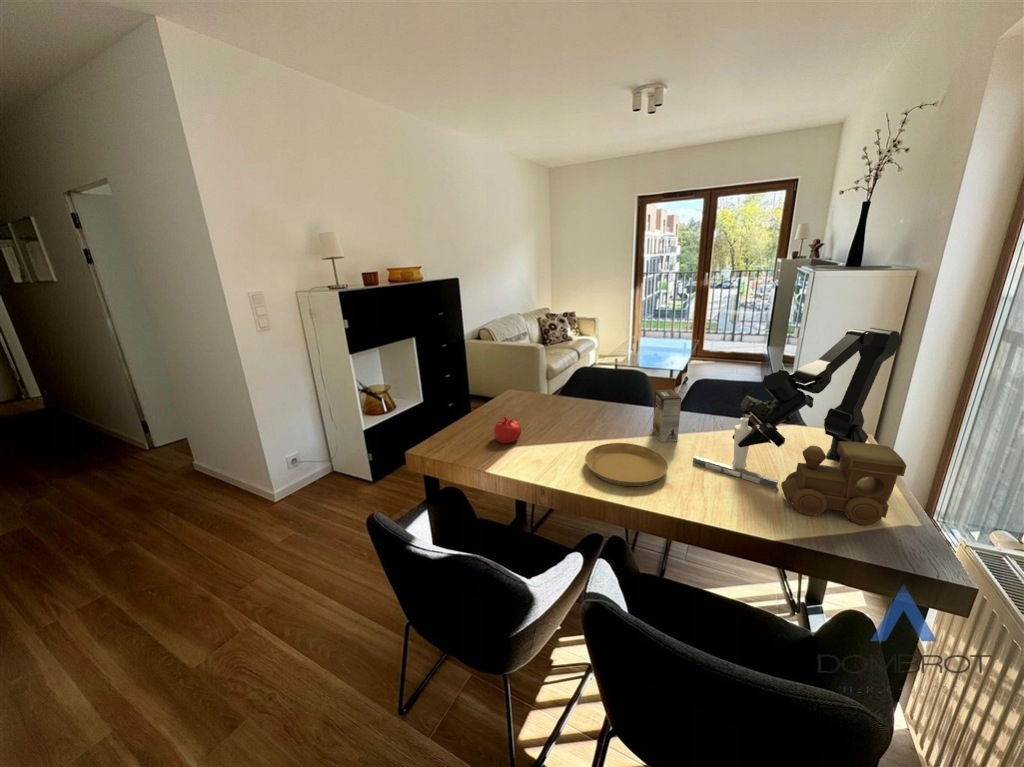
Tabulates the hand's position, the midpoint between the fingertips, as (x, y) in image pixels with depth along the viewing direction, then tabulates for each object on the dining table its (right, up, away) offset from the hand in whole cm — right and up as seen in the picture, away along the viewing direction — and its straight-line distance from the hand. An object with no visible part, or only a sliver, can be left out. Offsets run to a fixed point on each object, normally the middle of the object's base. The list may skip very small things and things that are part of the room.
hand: (736, 442), depth 117 cm
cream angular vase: (+2, -7, +2) cm, 8 cm away
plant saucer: (-31, -9, +5) cm, 33 cm away
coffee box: (-11, -2, +25) cm, 28 cm away
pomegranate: (-67, -4, +29) cm, 73 cm away
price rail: (-2, -9, -1) cm, 9 cm away
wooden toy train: (+13, -14, -18) cm, 26 cm away
